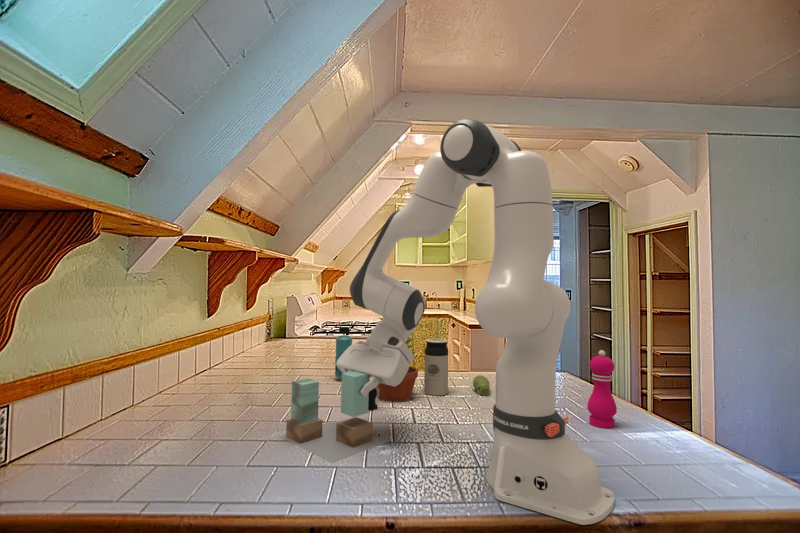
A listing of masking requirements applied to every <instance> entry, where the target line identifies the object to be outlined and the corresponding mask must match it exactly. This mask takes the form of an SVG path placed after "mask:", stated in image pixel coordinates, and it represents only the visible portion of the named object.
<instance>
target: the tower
mask: <svg viewBox="0 0 800 533" xmlns="http://www.w3.org/2000/svg"><path fill="white" fill-rule="evenodd" d="M319 384H320V383H319V381H318V380H314V379H311V378H303V379H297V380H292V381H291V397H290V398H291V403H290V404H291V406H290V408H291V412H290V418H288V419H286V420H285V421H286V424H285V426H286V429H285V433H286V434H285V435H286V437H288V438H290V439H292V440H294V441H296V442H298V443H300V444H301V443H304V442H308V441H311V440H314V439H317V438H320V437H322V424H323V419H322V418H319V392H320V391H319V389H320V388H319V387H320V385H319Z"/></svg>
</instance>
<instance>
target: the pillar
mask: <svg viewBox="0 0 800 533" xmlns="http://www.w3.org/2000/svg"><path fill="white" fill-rule="evenodd" d="M368 382H369V375H368V374H364V373H361V372H357V371H353V372H348V373H343V374H342V378H341V395H340V413H341V414H344V415H346V416H350V417H351V418H355V417H359V416H362V415H366V414H368V413H369V411H368V399H369V393H368V394H367V396H366V397H364V396H361V395H360V394H359V393H358V390H359V389H360V387H361V385H362V386H364V385H365V384H367V383H368Z"/></svg>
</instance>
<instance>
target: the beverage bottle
mask: <svg viewBox="0 0 800 533" xmlns="http://www.w3.org/2000/svg"><path fill="white" fill-rule="evenodd" d="M338 333H339V334H349V333H351V331H350V327H349V326H340V327H339V329H338ZM352 344H353V338H352V336H351V335H338V336H337V337H336V338H335V359H334V361H335V364H334V366H335V367H334V376H335V377H336V378H338V379H339V378H340V379H342V374H343V373H342V372H341V371H340V370H339V368H338V367H337V366H336V363H337V360H338V359H339V358H340V356H341V355H342V354H343V353H344V352H345V351H346V349H347V348H348V347H349V346H351V345H352Z"/></svg>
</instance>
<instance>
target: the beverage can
mask: <svg viewBox="0 0 800 533" xmlns="http://www.w3.org/2000/svg"><path fill="white" fill-rule="evenodd" d="M369 381H370V380H369ZM378 395H379V390H378V386H377V387H375V388H374V389H372V390H371V391H369V399H368V412H369V411H370V412H371V411H375V410H377V409H378V399H379V396H378Z"/></svg>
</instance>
